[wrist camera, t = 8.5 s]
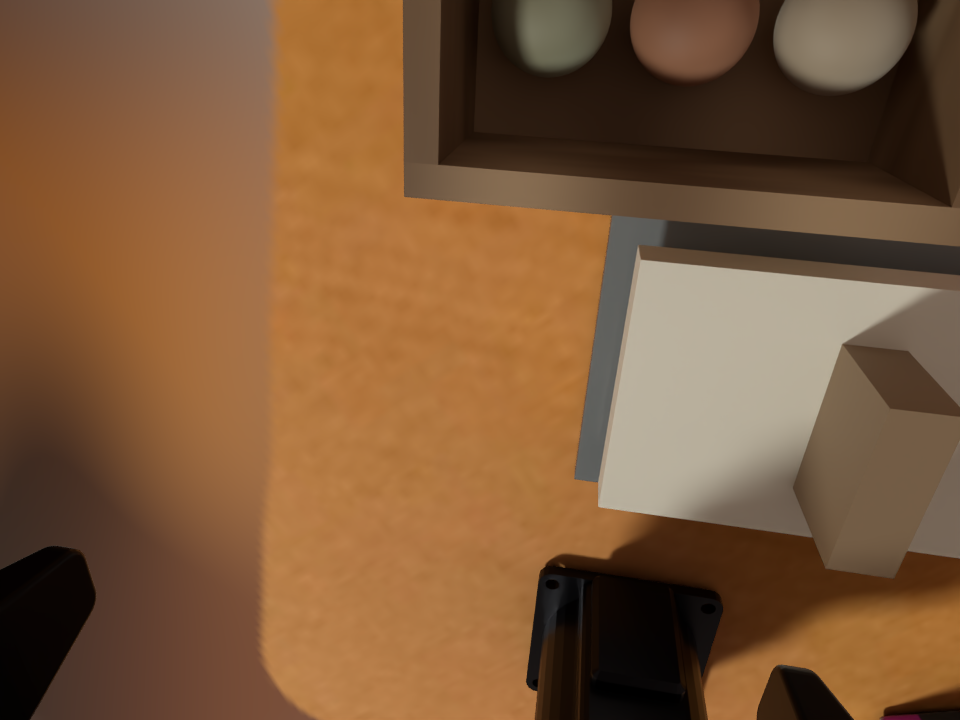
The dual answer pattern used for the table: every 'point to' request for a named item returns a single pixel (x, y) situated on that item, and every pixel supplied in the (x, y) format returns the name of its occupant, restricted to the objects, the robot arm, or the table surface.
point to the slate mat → (724, 240)
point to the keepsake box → (692, 111)
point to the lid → (791, 403)
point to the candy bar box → (926, 716)
